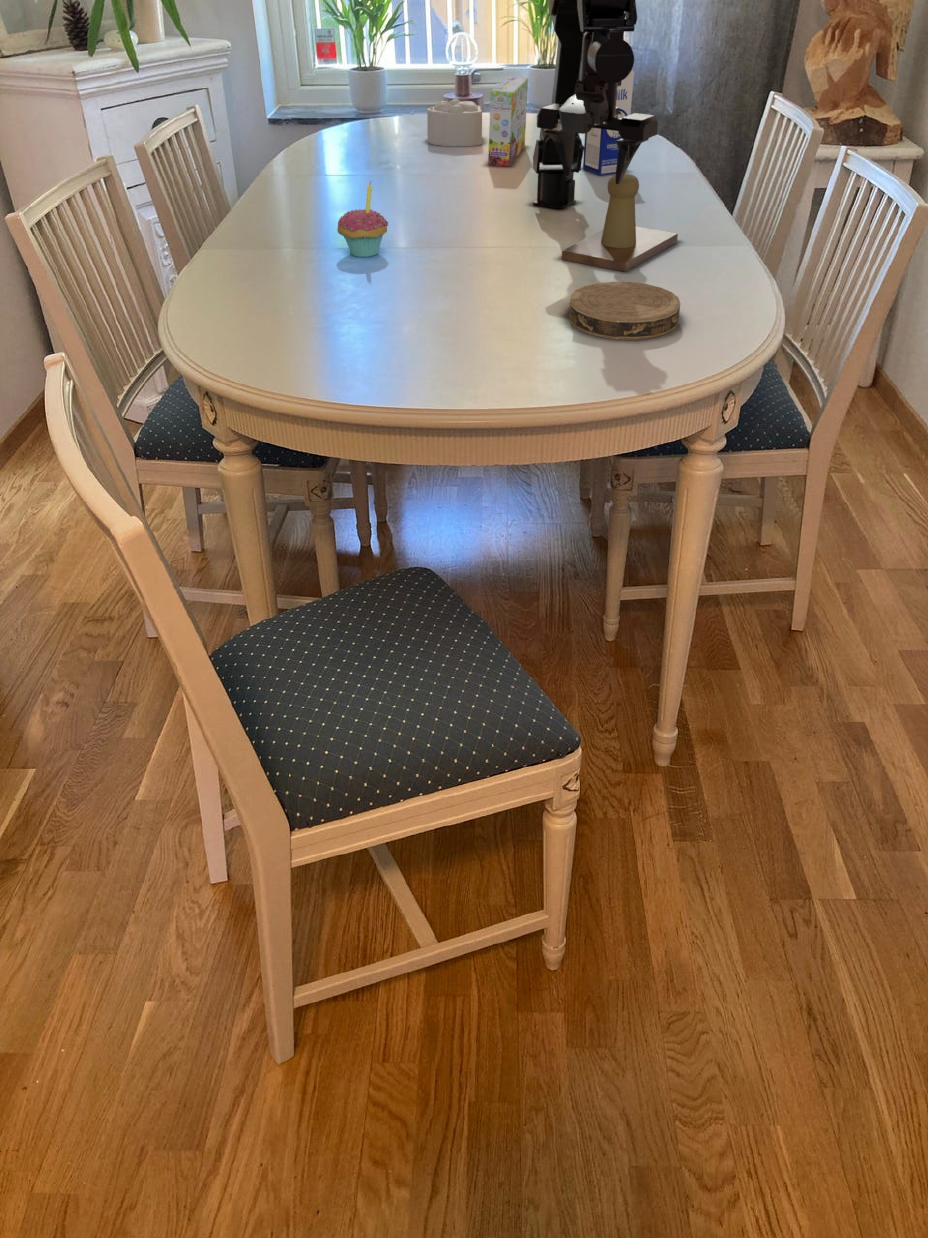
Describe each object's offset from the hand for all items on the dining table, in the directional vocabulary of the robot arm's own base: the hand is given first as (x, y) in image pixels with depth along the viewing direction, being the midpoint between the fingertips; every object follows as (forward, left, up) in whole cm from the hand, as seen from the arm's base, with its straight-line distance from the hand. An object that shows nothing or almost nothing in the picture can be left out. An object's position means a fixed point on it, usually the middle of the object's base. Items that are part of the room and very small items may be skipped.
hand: (592, 179), depth 167 cm
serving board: (+2, +8, -13) cm, 15 cm away
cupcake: (-34, -18, -13) cm, 41 cm away
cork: (+2, +7, -12) cm, 14 cm away
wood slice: (+18, -22, -13) cm, 31 cm away
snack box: (-53, +58, -13) cm, 80 cm away
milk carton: (-28, +58, -13) cm, 66 cm away
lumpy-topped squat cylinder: (-72, +64, -13) cm, 97 cm away
